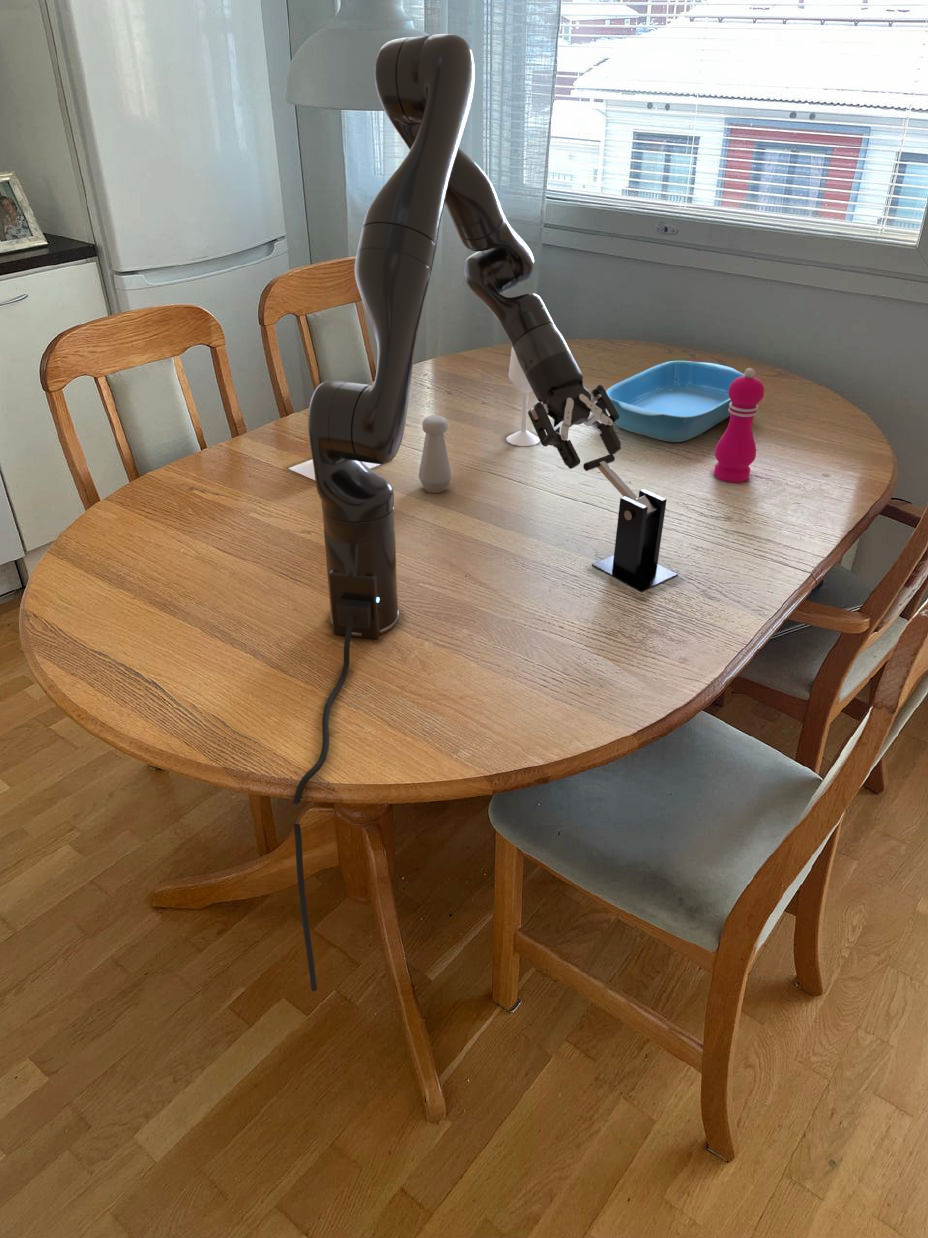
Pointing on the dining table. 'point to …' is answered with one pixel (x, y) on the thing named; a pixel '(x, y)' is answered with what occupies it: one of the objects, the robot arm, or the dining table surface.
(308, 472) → the napkin holder
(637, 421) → the casserole dish
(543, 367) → the robot arm
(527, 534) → the dining table surface
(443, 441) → the salt shaker
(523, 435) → the champagne flute
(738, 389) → the pepper mill
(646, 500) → the lever with crossbar handle
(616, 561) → the black lever stand
